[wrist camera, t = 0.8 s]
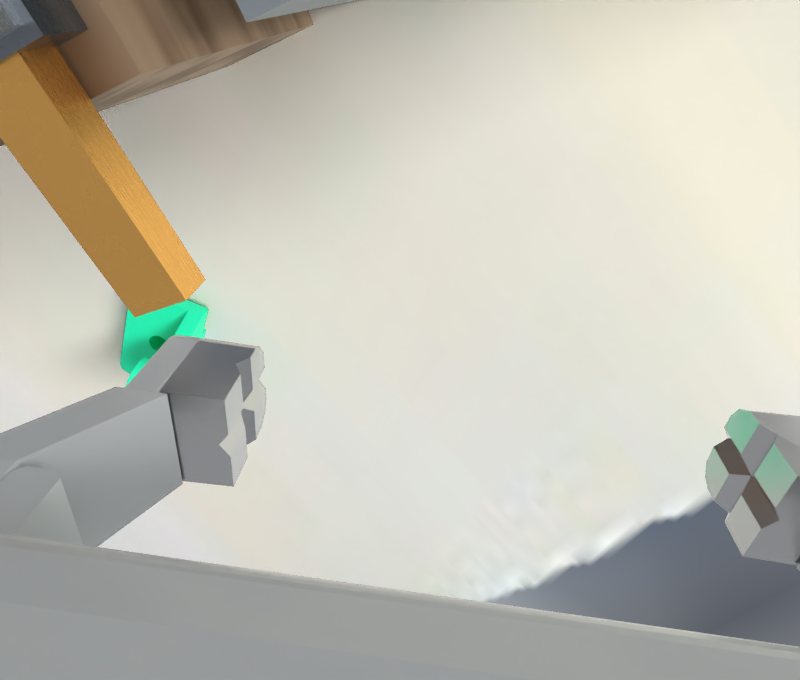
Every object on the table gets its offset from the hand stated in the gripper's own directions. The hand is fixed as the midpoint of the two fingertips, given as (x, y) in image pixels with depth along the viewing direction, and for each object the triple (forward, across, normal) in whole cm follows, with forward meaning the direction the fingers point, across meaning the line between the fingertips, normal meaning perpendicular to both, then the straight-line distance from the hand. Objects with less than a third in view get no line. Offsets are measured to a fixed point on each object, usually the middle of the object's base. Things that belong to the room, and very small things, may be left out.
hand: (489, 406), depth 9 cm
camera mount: (+42, +29, +28) cm, 58 cm away
